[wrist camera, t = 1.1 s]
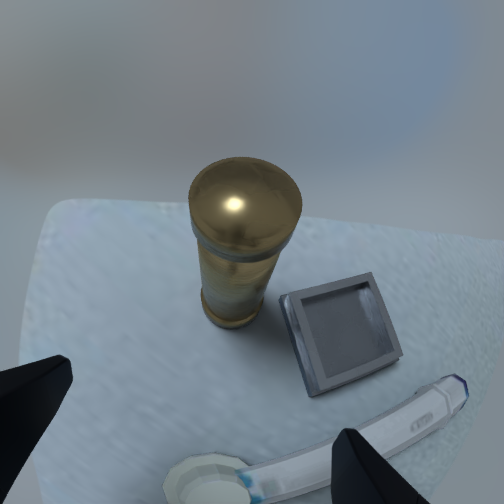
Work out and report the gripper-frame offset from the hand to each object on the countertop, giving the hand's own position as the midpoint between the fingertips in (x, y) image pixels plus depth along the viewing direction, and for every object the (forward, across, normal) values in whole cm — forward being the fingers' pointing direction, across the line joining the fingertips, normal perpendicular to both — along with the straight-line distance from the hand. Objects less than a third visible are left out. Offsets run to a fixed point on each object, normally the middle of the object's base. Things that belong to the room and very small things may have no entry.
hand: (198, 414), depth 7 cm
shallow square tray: (+15, -9, +4) cm, 18 cm away
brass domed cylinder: (+16, 0, +3) cm, 16 cm away
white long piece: (+8, -10, +11) cm, 17 cm away
